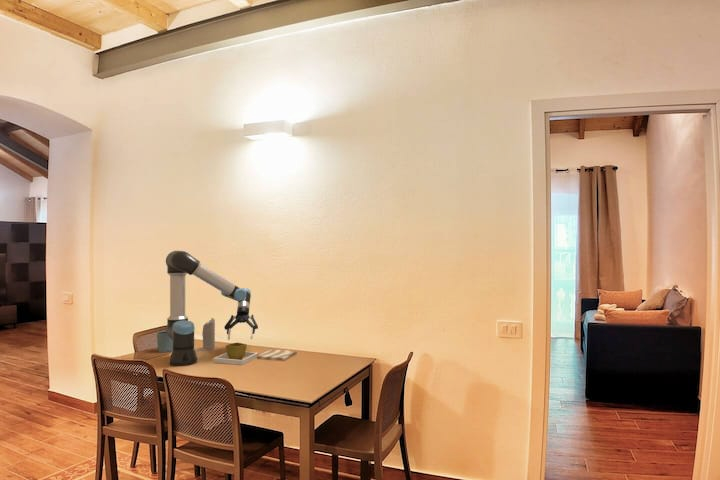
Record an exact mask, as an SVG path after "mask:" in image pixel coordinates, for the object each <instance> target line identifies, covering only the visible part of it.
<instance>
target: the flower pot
mask: <svg viewBox="0 0 720 480" xmlns="http://www.w3.org/2000/svg"><path fill="white" fill-rule="evenodd" d="M225 349H226V350H225V351H226V352H227V355H228V357H227V358H228V359H236V360H243V359H244V357H245V356H244V355H245V352H247V344H246V343H241V342H233V343H229V344H228V343H227V344H225Z"/></svg>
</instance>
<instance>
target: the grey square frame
mask: <svg viewBox="0 0 720 480" xmlns="http://www.w3.org/2000/svg"><path fill="white" fill-rule="evenodd" d="M258 355H259V352H251V351H246V352H245V355H244V357H245V358H242V359H240V360H236V359H229V357H228V355H227V351H226V352H224V353H222V354H220V355H217V356H215V357H213V358H212V363H214V364H227V365H239V366H242V365H245V364H247V363H249V362H251V361H252V360H255V359H257V356H258Z"/></svg>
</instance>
